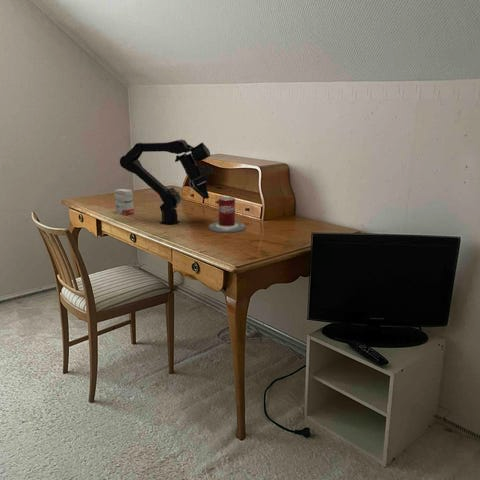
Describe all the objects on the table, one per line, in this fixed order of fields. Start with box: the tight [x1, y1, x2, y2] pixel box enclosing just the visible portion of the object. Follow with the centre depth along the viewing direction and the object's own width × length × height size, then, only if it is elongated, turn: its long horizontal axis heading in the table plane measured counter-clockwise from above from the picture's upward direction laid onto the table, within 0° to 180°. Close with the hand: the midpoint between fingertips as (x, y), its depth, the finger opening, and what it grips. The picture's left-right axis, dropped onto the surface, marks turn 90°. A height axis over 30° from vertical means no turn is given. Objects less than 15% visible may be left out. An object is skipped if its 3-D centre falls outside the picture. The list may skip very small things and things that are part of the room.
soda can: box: [217, 196, 236, 227], centre depth 218 cm, size 7×7×12 cm
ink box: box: [114, 188, 135, 216], centre depth 243 cm, size 9×5×12 cm, turn 53°
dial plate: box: [208, 221, 246, 234], centre depth 219 cm, size 16×16×1 cm
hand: (206, 198), depth 221 cm, fingers open, 9 cm apart
